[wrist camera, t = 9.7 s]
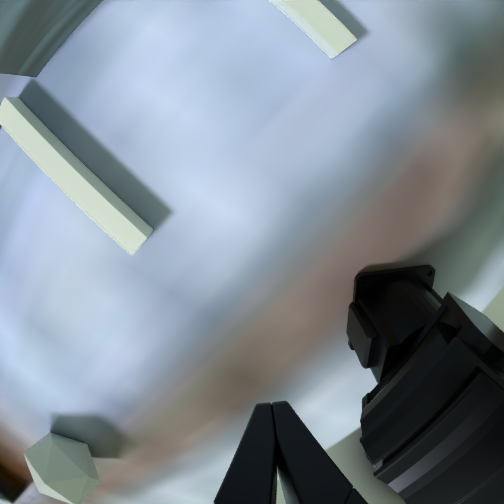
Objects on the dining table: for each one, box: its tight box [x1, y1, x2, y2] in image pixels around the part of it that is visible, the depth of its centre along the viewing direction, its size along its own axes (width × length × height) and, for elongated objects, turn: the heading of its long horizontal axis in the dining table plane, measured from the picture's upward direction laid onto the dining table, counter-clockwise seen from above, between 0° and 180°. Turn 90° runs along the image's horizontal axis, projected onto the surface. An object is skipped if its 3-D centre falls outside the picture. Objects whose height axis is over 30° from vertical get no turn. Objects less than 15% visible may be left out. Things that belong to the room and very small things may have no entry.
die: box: [24, 432, 100, 504], centre depth 25 cm, size 8×9×10 cm
